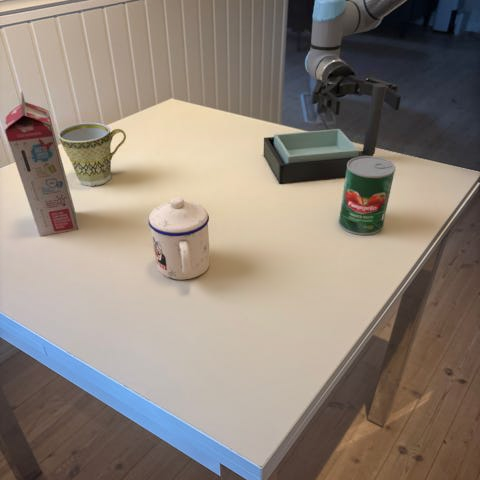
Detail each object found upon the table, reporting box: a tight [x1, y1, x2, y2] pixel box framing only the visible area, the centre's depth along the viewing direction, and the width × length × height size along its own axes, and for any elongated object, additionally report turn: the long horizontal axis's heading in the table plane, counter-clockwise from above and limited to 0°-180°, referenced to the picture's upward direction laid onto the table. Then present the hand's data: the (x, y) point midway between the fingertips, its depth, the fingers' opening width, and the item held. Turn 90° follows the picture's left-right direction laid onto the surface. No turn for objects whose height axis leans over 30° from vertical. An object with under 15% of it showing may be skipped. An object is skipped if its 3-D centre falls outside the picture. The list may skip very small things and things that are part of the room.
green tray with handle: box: [273, 83, 386, 164], centre depth 102 cm, size 21×12×15 cm, turn 101°
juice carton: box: [4, 91, 79, 237], centre depth 82 cm, size 7×7×22 cm
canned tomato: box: [338, 155, 396, 236], centre depth 84 cm, size 8×8×11 cm
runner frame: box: [263, 136, 356, 185], centre depth 105 cm, size 18×15×4 cm
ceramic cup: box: [57, 122, 127, 187], centre depth 100 cm, size 13×10×10 cm
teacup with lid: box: [148, 196, 211, 281], centre depth 74 cm, size 12×9×12 cm
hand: (368, 105), depth 104 cm, fingers open, 13 cm apart
